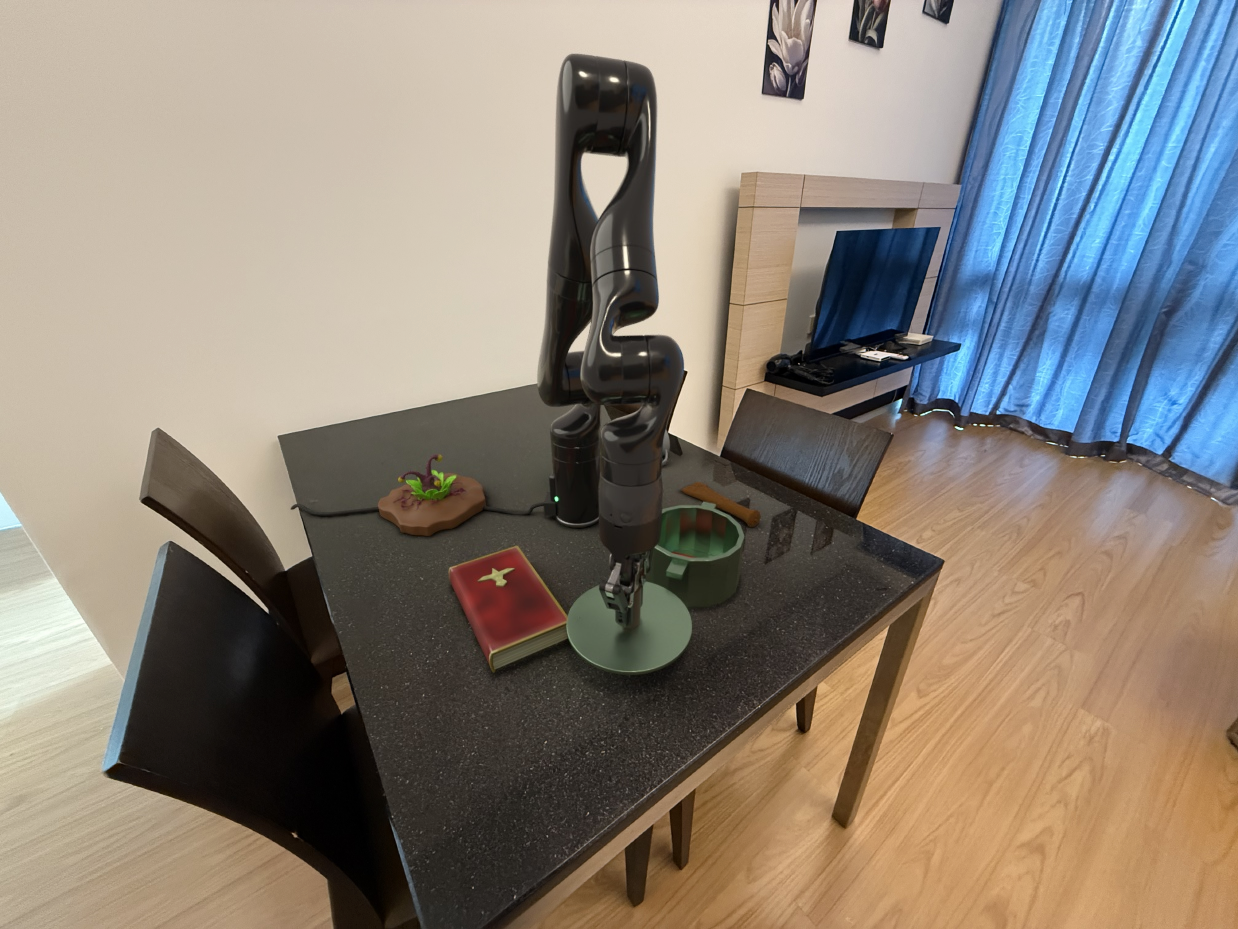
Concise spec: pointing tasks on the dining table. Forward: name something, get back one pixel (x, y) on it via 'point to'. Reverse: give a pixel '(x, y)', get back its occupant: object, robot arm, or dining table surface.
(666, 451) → the ceramic mug
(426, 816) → the dining table surface
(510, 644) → the hardcover book
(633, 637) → the lid
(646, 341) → the robot arm
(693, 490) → the primitive tool
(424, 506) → the plant
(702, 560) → the pot
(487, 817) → the dining table surface
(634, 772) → the dining table surface
